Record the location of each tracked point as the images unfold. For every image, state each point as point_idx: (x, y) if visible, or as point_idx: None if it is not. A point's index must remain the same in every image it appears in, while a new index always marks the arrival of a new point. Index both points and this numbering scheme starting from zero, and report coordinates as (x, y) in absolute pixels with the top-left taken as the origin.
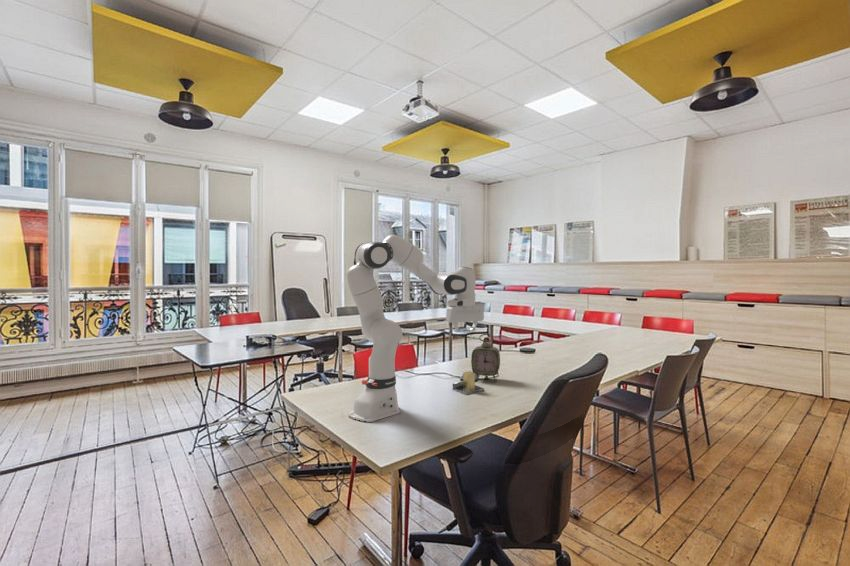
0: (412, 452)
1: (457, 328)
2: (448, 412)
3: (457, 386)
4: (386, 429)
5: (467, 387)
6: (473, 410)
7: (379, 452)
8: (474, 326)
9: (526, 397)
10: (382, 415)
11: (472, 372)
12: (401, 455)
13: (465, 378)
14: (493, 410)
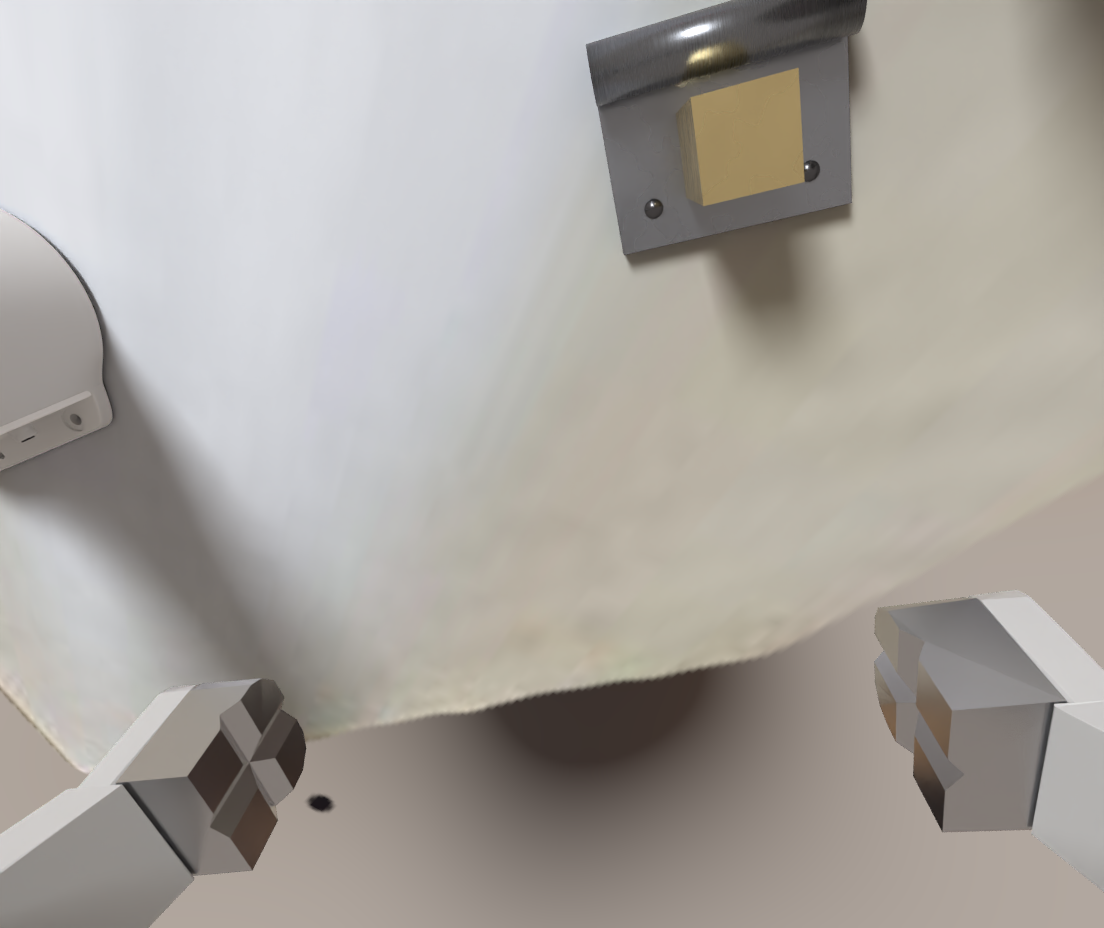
0: None
1: (168, 870)
2: (383, 512)
3: (618, 99)
4: (66, 572)
5: (686, 182)
6: (527, 541)
7: (66, 713)
8: (1060, 851)
9: (1000, 488)
10: (15, 455)
11: (788, 157)
12: None
13: (690, 148)
14: (631, 582)
